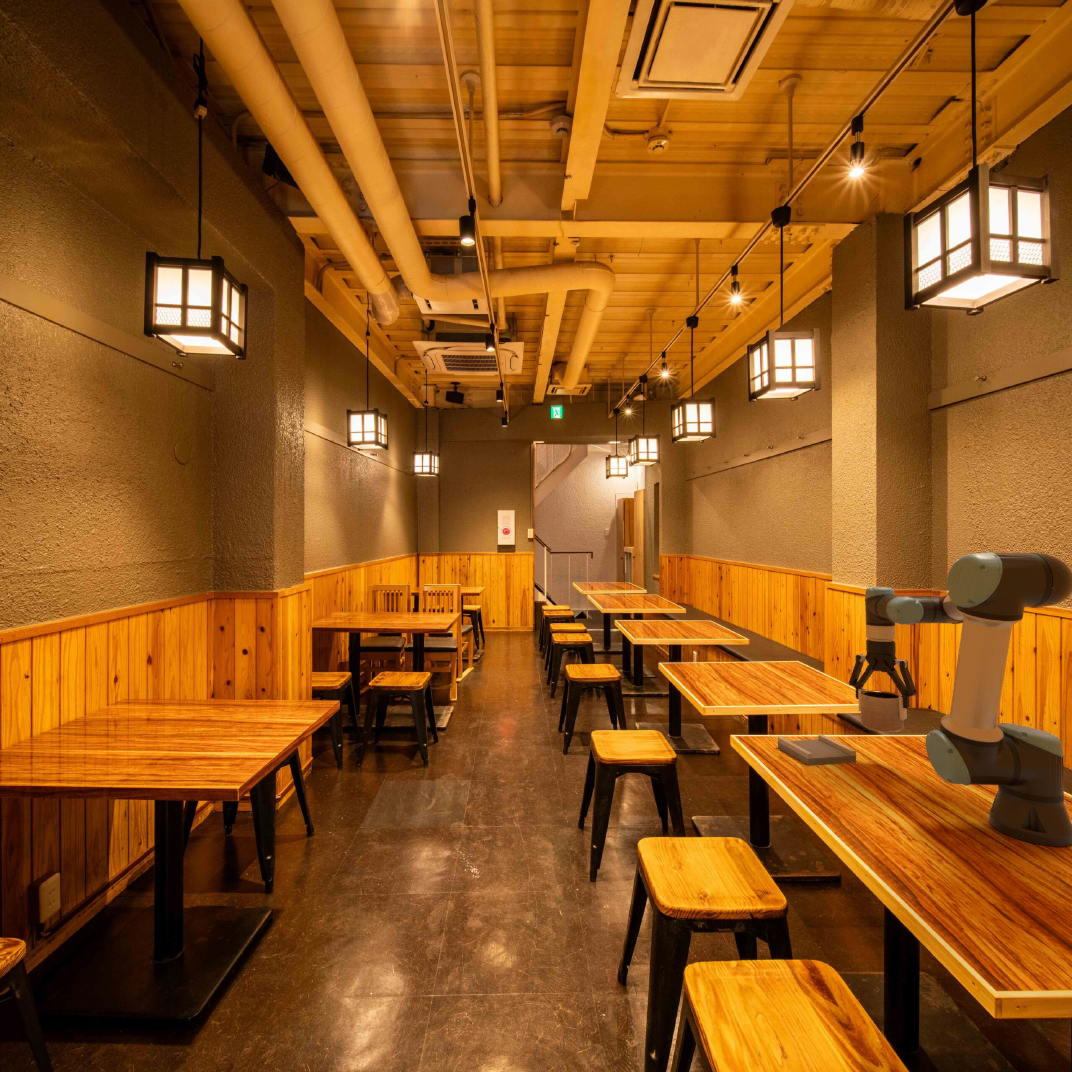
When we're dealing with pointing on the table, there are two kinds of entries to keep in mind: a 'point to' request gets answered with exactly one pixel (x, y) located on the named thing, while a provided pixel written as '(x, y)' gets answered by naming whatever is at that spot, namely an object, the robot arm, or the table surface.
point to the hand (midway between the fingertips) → (882, 714)
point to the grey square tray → (818, 751)
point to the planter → (881, 711)
